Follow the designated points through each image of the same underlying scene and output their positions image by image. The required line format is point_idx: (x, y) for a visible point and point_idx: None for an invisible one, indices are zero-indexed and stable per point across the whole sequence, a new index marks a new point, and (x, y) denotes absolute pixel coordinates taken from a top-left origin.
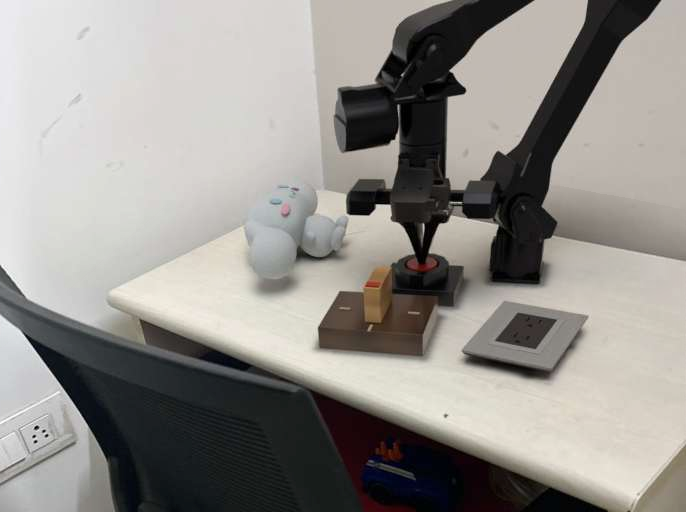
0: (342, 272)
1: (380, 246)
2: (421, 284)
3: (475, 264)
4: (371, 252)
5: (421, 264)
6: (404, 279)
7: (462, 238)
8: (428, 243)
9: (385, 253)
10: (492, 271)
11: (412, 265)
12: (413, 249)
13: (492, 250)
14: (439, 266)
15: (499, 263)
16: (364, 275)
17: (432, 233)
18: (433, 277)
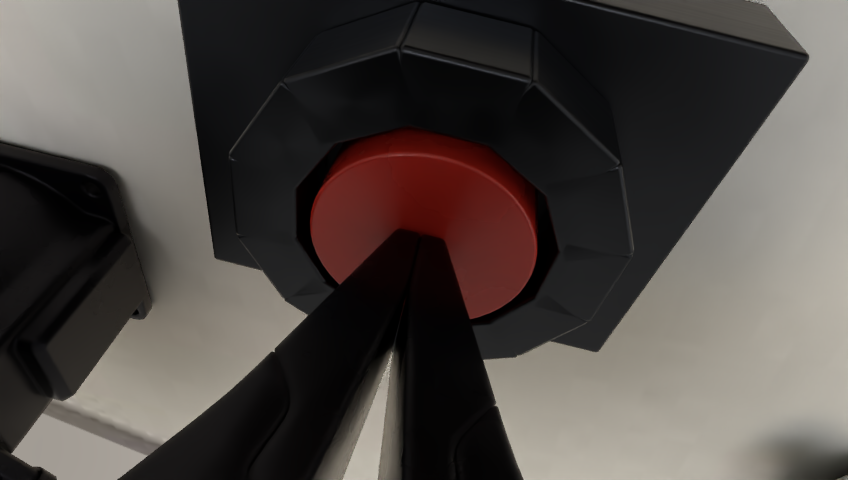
0: (834, 367)
1: (594, 470)
2: (433, 15)
3: (233, 314)
4: (638, 451)
5: (422, 228)
6: (577, 94)
7: None
8: (303, 351)
9: (584, 436)
10: (117, 234)
11: (494, 228)
12: (473, 334)
13: (52, 313)
14: (285, 187)
15: (52, 249)
16: (731, 326)
17: (195, 448)
18: (322, 56)
